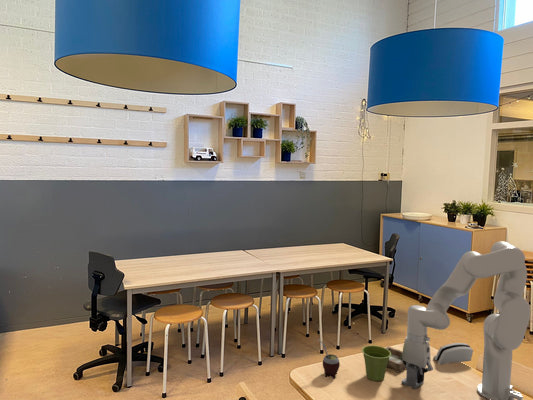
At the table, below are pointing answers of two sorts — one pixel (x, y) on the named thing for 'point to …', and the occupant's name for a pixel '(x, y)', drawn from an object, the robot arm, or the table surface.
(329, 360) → the mate gourd
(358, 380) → the table surface
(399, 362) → the square wooden tray
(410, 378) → the grey block
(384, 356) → the plant pot
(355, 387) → the table surface
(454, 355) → the grey rounded block
